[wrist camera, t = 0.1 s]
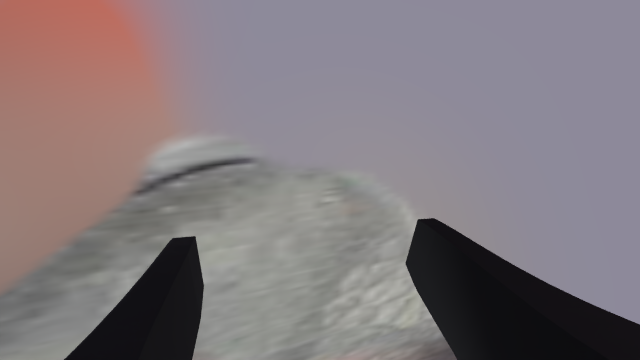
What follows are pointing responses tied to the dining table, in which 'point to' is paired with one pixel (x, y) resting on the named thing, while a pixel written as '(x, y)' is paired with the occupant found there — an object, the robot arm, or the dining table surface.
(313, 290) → the dining table surface
